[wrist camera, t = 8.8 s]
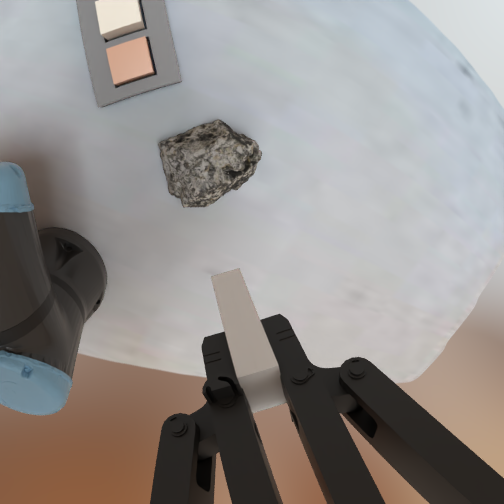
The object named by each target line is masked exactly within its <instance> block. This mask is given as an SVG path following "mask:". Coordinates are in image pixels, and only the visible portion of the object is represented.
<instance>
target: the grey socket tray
mask: <svg viewBox="0 0 504 504" xmlns="http://www.w3.org/2000/svg"><path fill="white" fill-rule="evenodd" d="M95 1H98V0H76V2H77V9H78V15H79V21H80V27H81V33H82V38H83V43H84V49H85V53H86V58H87V63H88V67H89V72H90V76H91V81H92V85H93V89H94V93H95V97H96V101H97V105H98V108H99V107H104V106H107V105H110V104H112V103H115V102H118V101H121V100H124V99H126V98H129V97H132V96H135V95H138V94H142V93H145V92H148V91H151V90H155V89H158V88H161V87H165V86H168V85H172V84H176V83H180V82H181V81H182V79H181V75H180V71H179V66H178V62H177V57H176V53H175V49H174V44H173V39H172V35H171V30H170V26H169V21H168V16H167V12H166V7H165V2H164V0H139V2H142V6H143V11H144V16H145V21H146V26H147V29H145V30H142V31H139V32H135V33H132V34H129V35H126V36H123V37H120V38H117V39H114V40H111V41H108V40H107V39H106V38H104V37H103V36H102V35H101V33H100V28H99V23H98V17H97V11H96V5H95ZM144 36H145V37H146V39H147V41H150V44H151V49H152V53H153V58H154V62H155V66H156V71H157V75H155V76H151V77H148V78H145V79H141V80H138V81H135V82H132V83H129V84H126V85H123V86H120V87H119V85H114V83H113V78H112V74H111V70H110V65H109V61H108V56H107V52H106V49H107V48H110V47H113V46H116V45H119V44H122V43H125V42H128V41H131V40H134V39H137V38H140V37H144Z"/></svg>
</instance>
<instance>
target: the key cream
mask: <svg viewBox="0 0 504 504" xmlns="http://www.w3.org/2000/svg"><path fill="white" fill-rule="evenodd" d="M95 5H96V11H97V17H98V23H99V28H100V33H101V35H102V36H103V37H104V38H106V39H107V40H108V41H109V40H112V39H114V38H117V37H120V36H123V35H126V34H129V33H132V32H136V31H139V30H142V29H145V28H144V23H143V18H142V13H141V8H140V3H139V0H98V1H95Z"/></svg>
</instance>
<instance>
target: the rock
mask: <svg viewBox="0 0 504 504" xmlns="http://www.w3.org/2000/svg"><path fill="white" fill-rule="evenodd" d="M158 145H159V148H160V150H161V153H160V157H161V159H162V161H163V169H164V173H165V175H166V178H167V181H168V189H169V193H170V194H171V195H174V196H175V197H177V198H181V201H182V205H183V207H206V206H209V205H210V204H212V203H214V202H215V201H217V200H218V199H219V198H220V197H221V196H224V194H225V193H227V192H229V191H230V190H231V189H234V190H238V189H239V188H240V187H241V185H242V184H243V183H245V182H246V181H248V179H249V178H250V177H251V176H252V175H253V174H254V173H255V170H256V167H257V163H258V161H259V160H261V156H262V152H261V151H260V150H259V146H258V144H257V143H256V141H255V140H252V139H250V138H248V137H246V136H245V135H244V134H237V133H236V132H234V131H233V130H232V129H231V128H230V127H229V126H228V125H226V123H224V122H223V121H221V120H216V121H214V123H213V124H211V123H208V124H204V125H200V126H198V127H194V128H193V129H191V130H188V131H187V132H186V133H184V134H179V135H177V137H171V138H169V139H168V140H166V141H161V142H160V143H159V144H158Z"/></svg>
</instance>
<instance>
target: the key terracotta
mask: <svg viewBox="0 0 504 504" xmlns="http://www.w3.org/2000/svg"><path fill="white" fill-rule="evenodd" d="M106 52H107V56H108V61H109V65H110V70H111V74H112V78H113V83H114V85H119V86H121V85H124V84H127V83H129V82H132V81H136V80H139V79H142V78H145V77H148V76H152V75H155V71H154V66H153V62H152V58H151V53H150V49H149V44H148V41H147V39H146V37H145V36H144V37H140V38H137V39H134V40H131V41H128V42H125V43H122V44H119V45H116V46H113V47H110V48H107V49H106Z"/></svg>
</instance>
